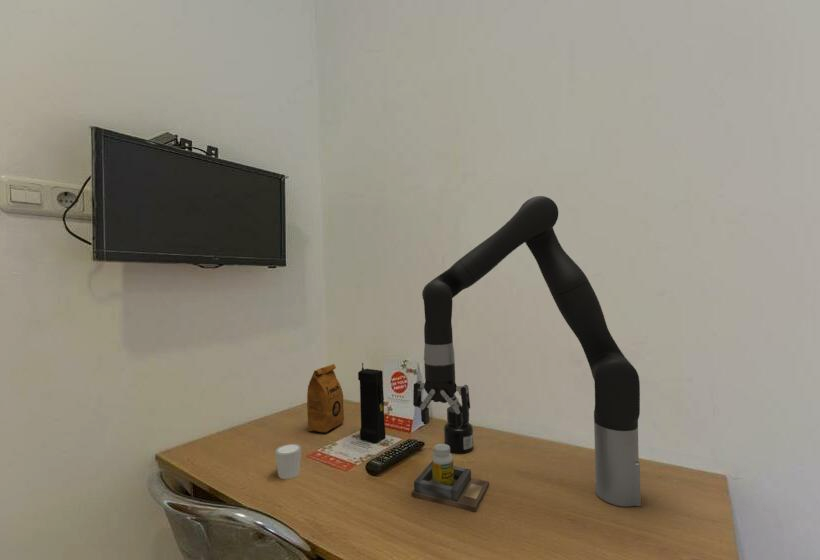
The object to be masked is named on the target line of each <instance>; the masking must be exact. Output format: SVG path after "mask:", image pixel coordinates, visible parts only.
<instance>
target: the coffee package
mask: <svg viewBox="0 0 820 560" xmlns="http://www.w3.org/2000/svg"><path fill="white" fill-rule="evenodd" d="M334 370H336V365H335V364H334V363H333V364H330V365H326V366H324V367H319V368H318V369H316V370H313V373H312V375H311V378H310V380H309V383H308V386H307V391H306V392H307V395H306V399H307V400H306V401H307V402H306V408H307V409H306V410H307V429H308V430H307V431H308V432H319V433H328V432H329V431H331V430H332V429H335V428H337V427H339V426H340V425H342V424H343V423H344V421H345V413H344V412H345V410H344V393H343V388H342V386H341V383H340V381H339V380H338V378H337V376H336V374H335V371H334Z"/></svg>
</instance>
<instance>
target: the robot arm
mask: <svg viewBox="0 0 820 560" xmlns="http://www.w3.org/2000/svg"><path fill="white" fill-rule="evenodd" d="M558 219H559V207H558V205H557V203H556V202H555V201H554V200H553V199H552V198H550V197H547V196H544V195H537V196H532V197H531V198H528V199H527V200H526V201H525V202H524V203H522V205H521V206H520V207H519V209H518V210H517V212H516V213H515V214H514V215H513V216H512V217H511V218H510V219H509V220H508V221H507V222H506V223H505V224H503V225H502V226H501V227H500V228H499V229H498V230H497V231H495V232H494V233H493V234H491V235H490V236H489V237H488V238H486V239H485V240H483V241H482V242H481V243H479V244H478V245H476V246H475V247H474V248H473V249H471V250H470V251H468V252H467V253H466V254H465V255H463V256H462V257H461V258H459V259H458V260H457V261H456V262H455V263H453V264H452V265H451V266H450V267H449V268H448V269H447V270H445V271H443V272H442V273H441V274H439V275H437V276H436V277H434V278H433V279H432V280H430V281H429V282H427V284H425V286H424V288H423V289H422V292H421V293H422V296H421V297H422V300H423V307H424V309H423V311H424V319H425V321H424V326H423V331H424V332H423V334H424V335H423V337H424V348H423V361H424V364H423V365H424V380H425V382H422V381H420V380H418V381H416V382H415V383H413V394H412V395H413V397H412V399H413V401H412V404H413V406H414V407H416V408H419V409H420V419H421V422H422V424H423V425H424V426H425V425H426V426H427V425H428V424H429V423H430V409H429V407H428V406H429V405H430V403H431V402H432V401H433V403H442V404H446V403H447V404H448V405H449V407H452V408H453V409H454V411H455V412H456V414H455V425H456V429H459V428H460V427H461V426H462V425H463V412H467V411H468V410H469V411H470V409H471V399H470V391H469V390H470V389H469V386H468V384H464V385H457V384H456V366H455V365H456V364H455V349H454V341H453V325H452V318H453V298H455V297H456V296H457V295H458V294H459V293H461V292H462V291H463V290H465V289H468V288H470V287H472V286H473V285H474V284H476V283H477V282H479V281H480V280H481V279H482V278H483V277H484V276H487V274H488V273H490V272H492V270H493V269H494V268H496V267H497V266H498V265H499V264H500V263H501V262H503V260H505V258H507V257H508V256H509V255H510V254H511V253H512V252H514V251H515V250H516V249H518V247H520V246H522V245H523V244H524V243H525V245H526V246H527V248H528V249H529V251H530V253H531V254H532V255H533V259H535V261H536V264H537V265H538V268H539V270H540V273H541V275H542V277H543V279H544V282H545V284H546V286H547V287H548V289H549V292H550V294H551V296H552V298H553V300H554V301H553V302H554V303H555V304H556V307H557V309H558V310H559V312H560V314H561V316H562V317H563V319H564V320H565V322H566V324H567V325H568V326H569V329H571V331H572V333H573V334H574V336H575V337H576V338H577V340H578V341H579V344H580V346H581V347H582V350H583V352H584V355H585V357H586V359H587V363H588V365H589V369H590V372H591V375H592V378H593V380H594V381H593V382H594V410H593V421H594V422H593V424H594V425H593V426H594V427H593V428H594V430H593V431H594V433H593V434H594V464H595V465H594V471H595V472H594V473H595V474H594V475H595V493H596V495H597V497H598V498H600V499H601V500H602V501H604V502H606V503H609V504H610V505H614V506H618V507H627V508H628V507H641V506H642V503H641V502H642V501H641V500H642V499H641V463H640V461H639V459H640V458H639V452H640V451H639V419H640V412H641V408H640V407H641V404H640V403H641V398H640V397H641V396H640V395H641V390H640V389H641V388H640V387H641V385H640V384H641V383H640V376H639V373H638V371H637V369H636V368H635V367H634V366H633V364H632V363H631V362H630V361H629V360H628V359H627V358H626V357H625V354H624V353H623V351H622V350H621V349H620V347H619V346H618V344H617V342H616V341H615V339H614V338H613V336H612V334H611V333H610V330H609V328H608V324H607V322H606V319H605V315H604V312H603V309H602V306H601V304H600V301H599V299H598V296H597V294H596V292H595V290H594V288H593V286H592V284H591V282H590V281H589V279H588V277H587V275H586V274H585V272H584V271H583V270H582V268H581V267H580V266H579V265H578V264H577V263H576V261H574V260H573V259H572V258H571V257H570V255H569V254H567V252H566V251H565V250H564V247H562V245H561V244H560V241H559V239H558V237H557V235H556V233H555V230H554V226H555V225H556V223H557V221H558ZM423 390H425V392H426V394H427V395H426V396H425V398H424V399H423V401H422V393H423ZM456 392H457V393H458V394H459V396H461V403H460V402H459V401H460V400H459V398H457V395H456Z"/></svg>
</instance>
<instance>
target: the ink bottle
mask: <svg viewBox="0 0 820 560" xmlns="http://www.w3.org/2000/svg"><path fill="white" fill-rule="evenodd" d="M455 414H456V412H455V411H454V409H453V408H452V407H451V406H448V407H447V408H446V420H447V423H445V424H444V426H443V427H444V428H443V432H444V434H443V438H444V439H443V440H444V443H443V444H447V445H449V446H450V453H455V454H465V453H469V452H471V451H472V450H473V449H474V429H473V428H474V427H473V425H472V424H471V423H470V409H469V410H468V411H467V412H463V425H462V426H461V427H460V428H459V429H456V425H455Z"/></svg>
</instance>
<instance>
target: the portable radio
mask: <svg viewBox="0 0 820 560" xmlns="http://www.w3.org/2000/svg"><path fill="white" fill-rule="evenodd" d="M361 364H362V365H361V366H362V367H361V370H360V371H358V373H357V377H358V379H357V380H358V381H359V395H360V396H359V398H360V400H359V401H360V430H359V439H360V441H364V442H367V443H372V444H376V443H378V442H380V441H382V440H384V439H385V438H387V435H386V424H385V423H386V420H385V401H384V400H385V398H384V397H385V394H384V381H383V380H384V377H383V372H384V371H383V370H379V369H371V368H364V362H362V363H361Z"/></svg>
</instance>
